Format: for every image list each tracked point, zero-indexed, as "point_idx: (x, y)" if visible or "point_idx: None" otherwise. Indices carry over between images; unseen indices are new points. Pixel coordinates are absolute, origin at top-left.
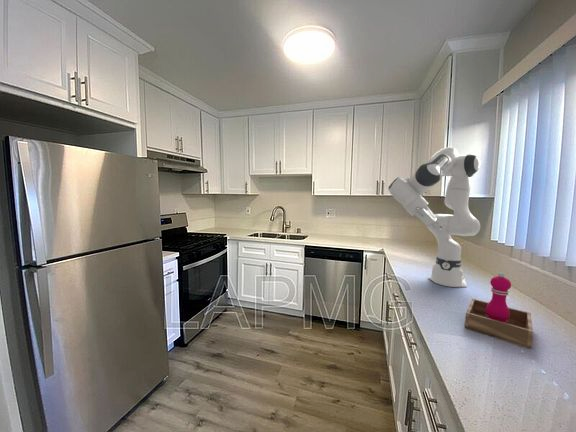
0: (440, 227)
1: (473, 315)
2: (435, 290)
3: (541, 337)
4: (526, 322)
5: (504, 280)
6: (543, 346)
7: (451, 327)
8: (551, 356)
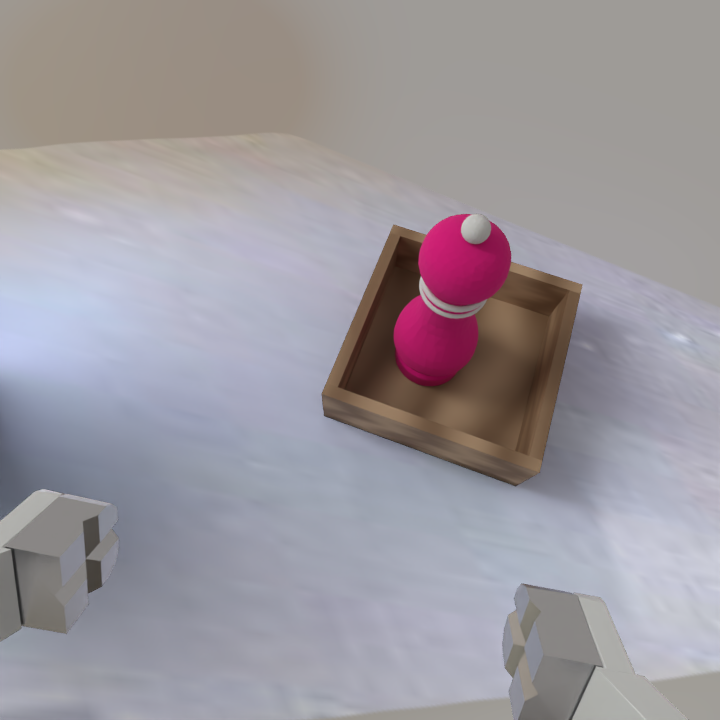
0: (85, 549)
1: (545, 446)
2: None
3: None
4: None
5: (504, 239)
6: None
7: (540, 540)
8: None
